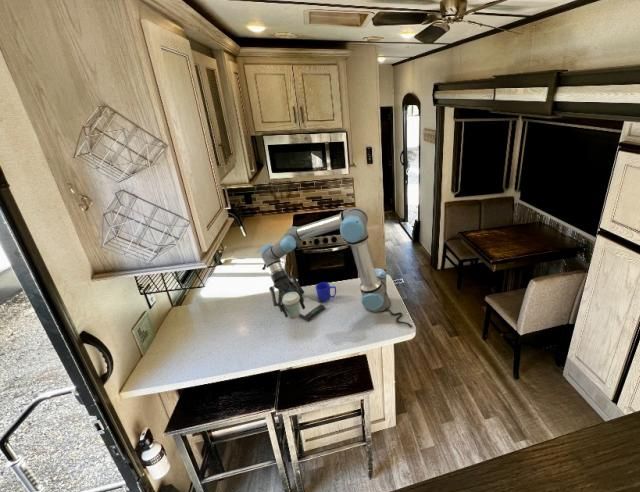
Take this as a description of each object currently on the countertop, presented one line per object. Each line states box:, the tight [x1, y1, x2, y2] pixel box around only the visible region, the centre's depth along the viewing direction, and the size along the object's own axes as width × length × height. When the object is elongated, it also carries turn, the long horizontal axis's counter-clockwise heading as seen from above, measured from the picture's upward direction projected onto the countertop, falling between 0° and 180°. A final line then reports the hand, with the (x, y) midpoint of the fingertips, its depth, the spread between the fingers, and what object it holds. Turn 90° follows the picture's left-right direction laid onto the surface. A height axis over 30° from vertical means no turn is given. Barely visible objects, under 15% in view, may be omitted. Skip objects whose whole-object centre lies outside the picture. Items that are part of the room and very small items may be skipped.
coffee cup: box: [282, 292, 300, 320], centre depth 166 cm, size 8×8×12 cm
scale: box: [298, 297, 326, 322], centre depth 192 cm, size 15×13×3 cm
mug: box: [315, 281, 337, 303], centre depth 200 cm, size 8×12×10 cm
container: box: [281, 274, 300, 305], centre depth 198 cm, size 12×12×17 cm
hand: (295, 312), depth 165 cm, fingers closed on coffee cup, 9 cm apart
